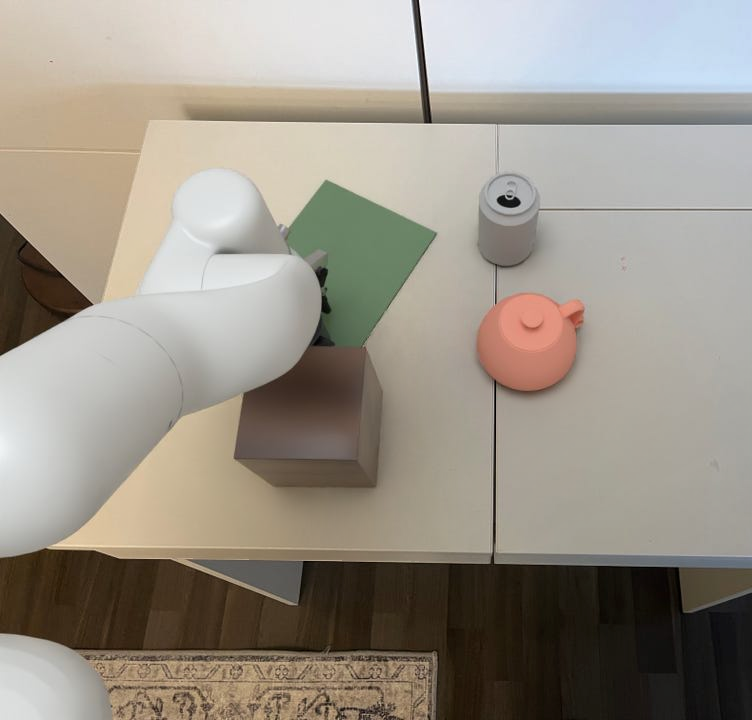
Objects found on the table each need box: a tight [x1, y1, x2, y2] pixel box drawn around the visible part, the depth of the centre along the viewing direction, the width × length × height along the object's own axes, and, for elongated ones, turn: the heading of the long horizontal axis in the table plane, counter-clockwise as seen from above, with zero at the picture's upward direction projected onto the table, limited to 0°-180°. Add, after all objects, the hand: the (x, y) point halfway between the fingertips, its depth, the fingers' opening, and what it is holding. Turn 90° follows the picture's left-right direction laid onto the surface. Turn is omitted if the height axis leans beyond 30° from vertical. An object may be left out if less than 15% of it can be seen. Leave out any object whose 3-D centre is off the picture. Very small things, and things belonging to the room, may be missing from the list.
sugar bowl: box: [476, 292, 586, 392], centre depth 79 cm, size 12×14×10 cm
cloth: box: [287, 179, 438, 347], centre depth 86 cm, size 28×18×1 cm, turn 151°
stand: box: [233, 346, 384, 489], centre depth 72 cm, size 12×12×14 cm
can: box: [477, 170, 541, 267], centre depth 84 cm, size 8×8×12 cm
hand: (298, 337), depth 81 cm, fingers open, 9 cm apart
